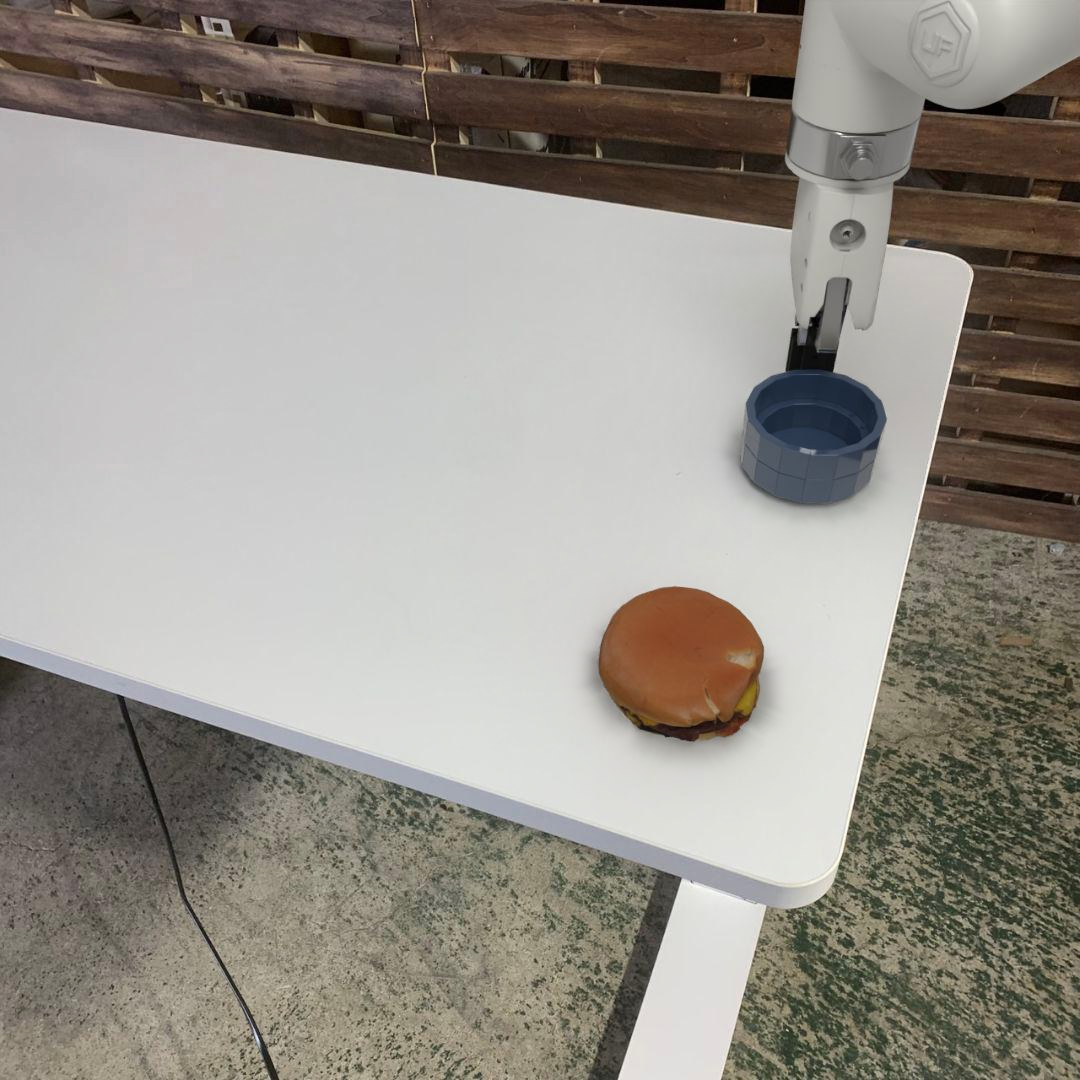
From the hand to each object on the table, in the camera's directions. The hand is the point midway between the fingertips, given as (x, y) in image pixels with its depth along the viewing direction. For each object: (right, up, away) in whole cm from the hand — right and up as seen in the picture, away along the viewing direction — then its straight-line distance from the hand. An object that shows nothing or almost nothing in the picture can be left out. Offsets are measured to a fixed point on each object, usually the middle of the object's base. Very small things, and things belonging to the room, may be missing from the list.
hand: (807, 379), depth 73 cm
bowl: (-1, -7, -3) cm, 7 cm away
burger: (-12, -21, -15) cm, 28 cm away
